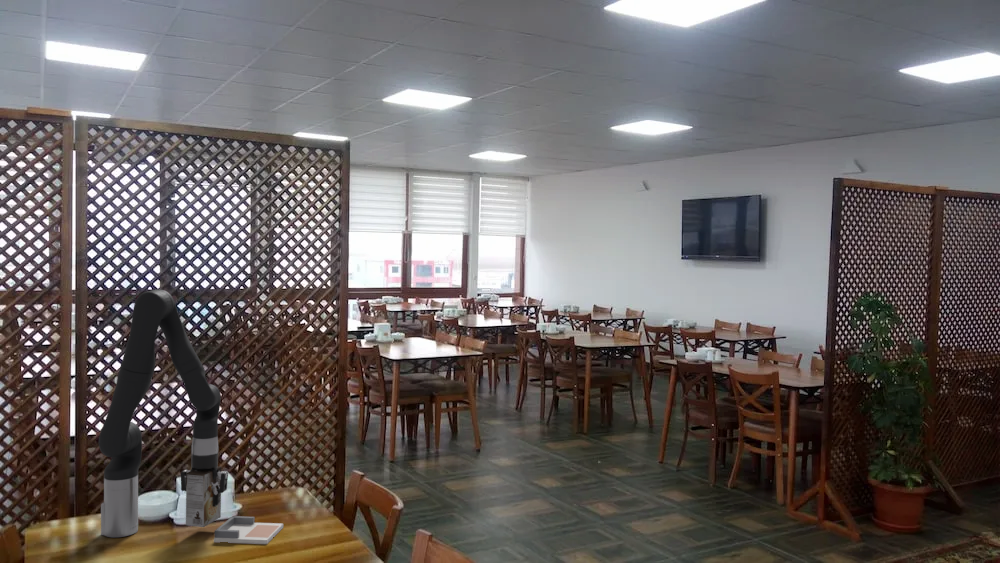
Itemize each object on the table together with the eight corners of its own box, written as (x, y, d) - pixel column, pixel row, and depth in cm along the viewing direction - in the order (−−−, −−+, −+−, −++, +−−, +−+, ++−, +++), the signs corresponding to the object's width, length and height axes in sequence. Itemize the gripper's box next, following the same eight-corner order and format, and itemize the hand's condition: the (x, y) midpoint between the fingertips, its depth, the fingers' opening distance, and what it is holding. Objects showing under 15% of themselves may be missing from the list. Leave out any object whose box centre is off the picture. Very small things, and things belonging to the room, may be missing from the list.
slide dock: (213, 542, 222) (213, 531, 222) (233, 525, 236) (233, 515, 236) (267, 544, 221) (267, 533, 221) (283, 527, 235) (283, 517, 235)
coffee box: (202, 515, 235) (203, 464, 234) (221, 517, 234) (222, 466, 233) (184, 525, 226) (185, 472, 225) (204, 527, 225) (205, 474, 224)
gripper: (175, 453, 226) (174, 508, 226) (222, 455, 225) (221, 510, 225) (187, 447, 233) (186, 500, 234) (233, 449, 232) (231, 502, 233)
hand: (203, 505), depth 230 cm, fingers closed on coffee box, 7 cm apart
